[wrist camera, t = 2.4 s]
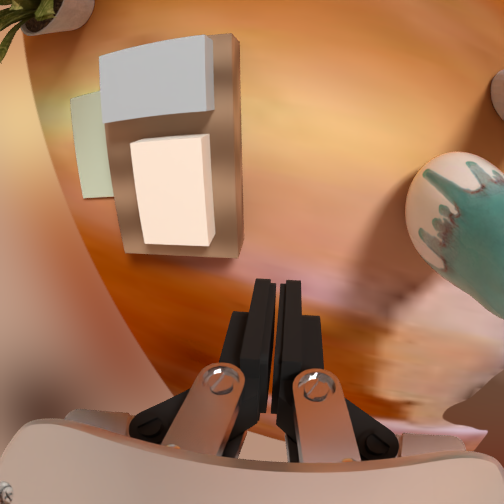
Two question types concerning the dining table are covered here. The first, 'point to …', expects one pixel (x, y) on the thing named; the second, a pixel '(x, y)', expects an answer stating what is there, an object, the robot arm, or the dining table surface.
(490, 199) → the vase
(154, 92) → the gray rectangular block
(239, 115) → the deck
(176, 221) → the cream block
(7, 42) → the house plant
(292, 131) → the dining table surface
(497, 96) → the coffee cup
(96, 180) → the mat
